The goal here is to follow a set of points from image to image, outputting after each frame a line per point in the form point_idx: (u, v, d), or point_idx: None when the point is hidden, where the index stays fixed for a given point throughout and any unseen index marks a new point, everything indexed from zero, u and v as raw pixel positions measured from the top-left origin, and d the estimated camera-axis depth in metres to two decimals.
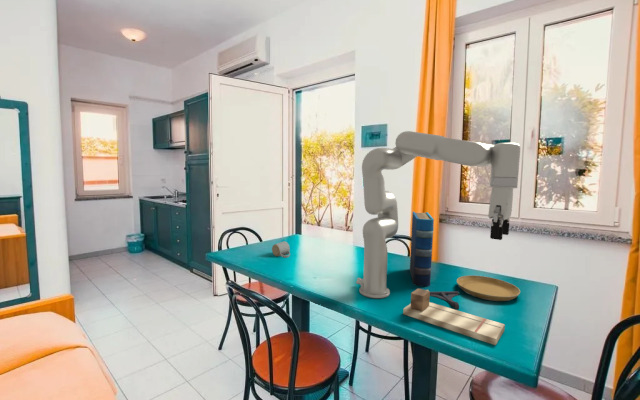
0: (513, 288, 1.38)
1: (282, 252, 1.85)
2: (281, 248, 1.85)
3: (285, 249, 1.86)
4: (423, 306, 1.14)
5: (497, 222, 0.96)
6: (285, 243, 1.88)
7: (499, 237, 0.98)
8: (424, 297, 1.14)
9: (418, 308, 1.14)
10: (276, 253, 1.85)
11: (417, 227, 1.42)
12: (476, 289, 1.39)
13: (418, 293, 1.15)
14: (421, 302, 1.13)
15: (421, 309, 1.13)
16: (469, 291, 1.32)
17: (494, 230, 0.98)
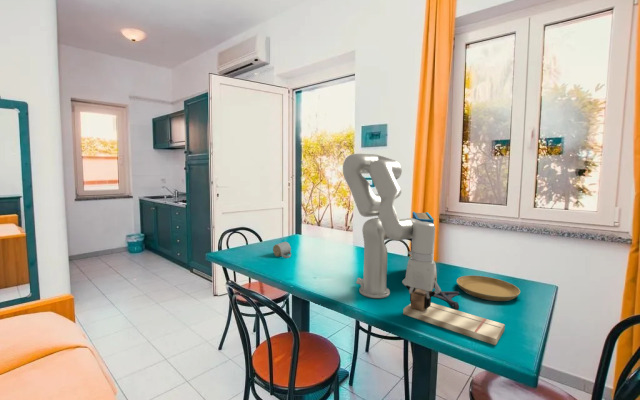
0: (513, 288, 1.38)
1: (283, 252, 1.84)
2: (282, 248, 1.84)
3: (286, 249, 1.86)
4: (423, 306, 1.14)
5: None
6: (286, 243, 1.88)
7: None
8: (424, 297, 1.14)
9: (418, 308, 1.14)
10: (277, 253, 1.84)
11: None
12: (476, 289, 1.39)
13: (418, 293, 1.15)
14: (421, 302, 1.13)
15: (421, 309, 1.13)
16: (469, 291, 1.32)
17: (429, 301, 1.14)
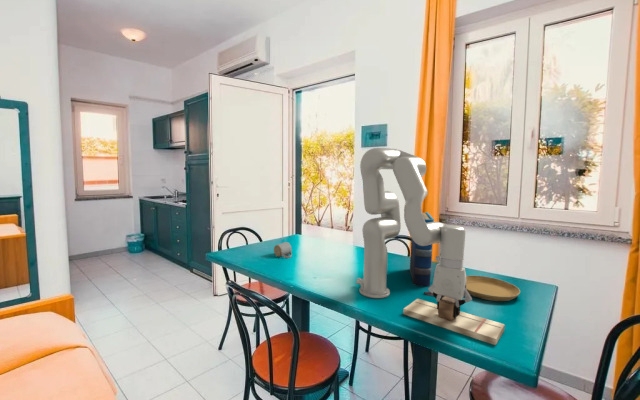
0: (513, 288, 1.38)
1: (284, 253, 1.84)
2: (283, 249, 1.83)
3: (287, 250, 1.85)
4: (452, 315, 1.07)
5: None
6: (287, 244, 1.87)
7: None
8: (453, 305, 1.07)
9: (447, 317, 1.07)
10: (278, 254, 1.84)
11: None
12: (476, 289, 1.39)
13: (446, 302, 1.08)
14: (450, 311, 1.06)
15: (450, 318, 1.07)
16: (469, 291, 1.32)
17: (458, 310, 1.07)
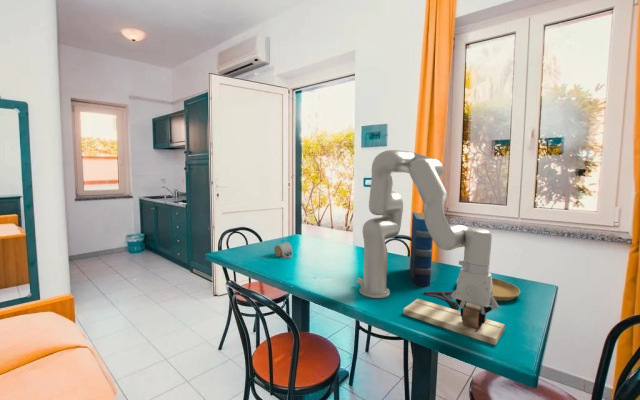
0: (513, 288, 1.38)
1: (284, 253, 1.83)
2: (283, 249, 1.83)
3: (287, 250, 1.85)
4: (478, 322, 1.02)
5: None
6: (287, 244, 1.87)
7: None
8: (479, 313, 1.02)
9: (472, 325, 1.02)
10: (278, 254, 1.83)
11: (417, 227, 1.42)
12: None
13: (471, 309, 1.03)
14: (476, 318, 1.01)
15: (475, 326, 1.02)
16: None
17: (484, 317, 1.02)
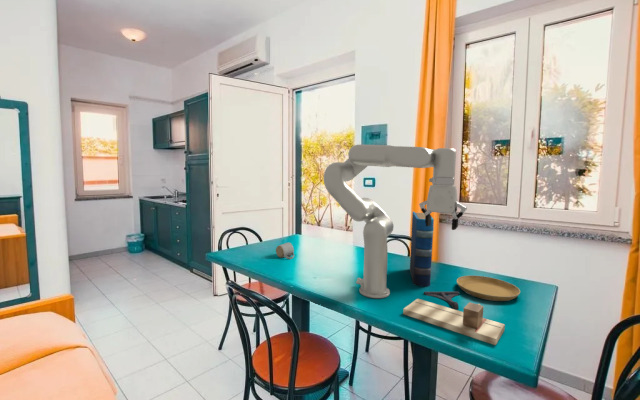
0: (513, 288, 1.38)
1: (286, 253, 1.82)
2: (285, 249, 1.82)
3: (289, 250, 1.84)
4: (478, 323, 1.02)
5: (462, 214, 1.16)
6: (289, 244, 1.86)
7: None
8: (479, 313, 1.02)
9: (472, 325, 1.02)
10: (280, 254, 1.82)
11: (417, 227, 1.42)
12: (476, 289, 1.39)
13: (471, 309, 1.03)
14: (476, 318, 1.01)
15: (476, 326, 1.02)
16: (469, 291, 1.32)
17: (456, 222, 1.16)
